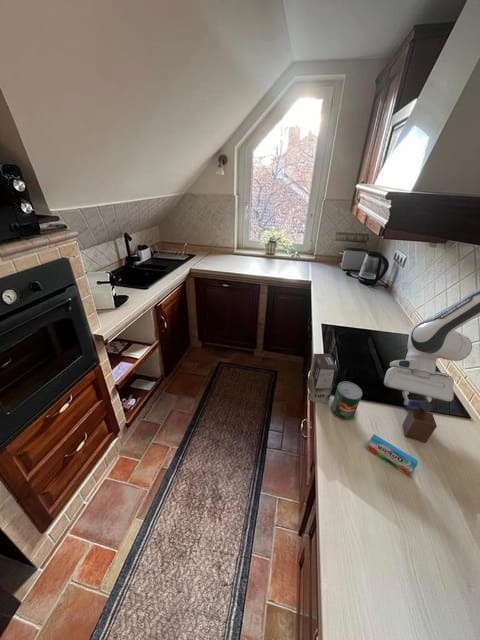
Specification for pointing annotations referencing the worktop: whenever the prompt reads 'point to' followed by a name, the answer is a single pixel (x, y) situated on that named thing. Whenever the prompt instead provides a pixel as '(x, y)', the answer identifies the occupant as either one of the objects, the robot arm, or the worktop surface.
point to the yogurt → (392, 455)
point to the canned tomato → (346, 400)
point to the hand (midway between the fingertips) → (415, 407)
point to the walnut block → (419, 425)
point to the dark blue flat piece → (419, 405)
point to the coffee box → (322, 377)
